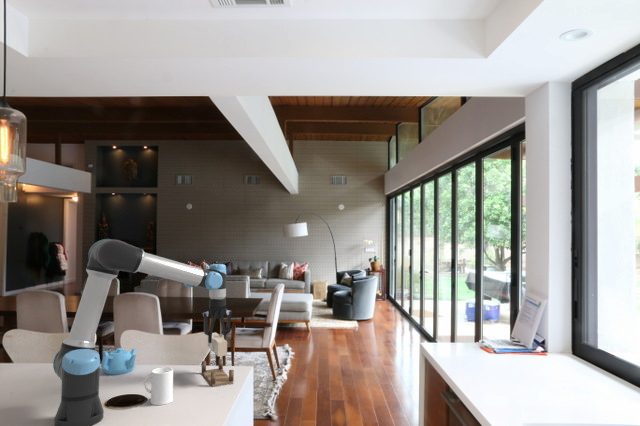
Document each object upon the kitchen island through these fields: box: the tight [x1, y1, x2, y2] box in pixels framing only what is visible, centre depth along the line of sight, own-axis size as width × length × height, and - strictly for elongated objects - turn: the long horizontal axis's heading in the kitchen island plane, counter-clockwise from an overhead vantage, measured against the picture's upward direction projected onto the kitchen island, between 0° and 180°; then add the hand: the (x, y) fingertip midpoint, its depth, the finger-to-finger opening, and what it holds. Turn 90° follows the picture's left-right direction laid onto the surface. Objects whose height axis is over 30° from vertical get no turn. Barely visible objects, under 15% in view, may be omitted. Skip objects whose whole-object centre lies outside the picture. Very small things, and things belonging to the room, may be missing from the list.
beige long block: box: [207, 332, 228, 357], centre depth 204 cm, size 20×4×6 cm, turn 27°
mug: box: [143, 367, 174, 406], centre depth 175 cm, size 12×8×12 cm
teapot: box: [100, 347, 137, 376], centre depth 214 cm, size 15×15×11 cm
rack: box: [201, 358, 235, 388], centre depth 204 cm, size 22×10×6 cm, turn 26°
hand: (217, 349), depth 204 cm, fingers closed on beige long block, 4 cm apart
